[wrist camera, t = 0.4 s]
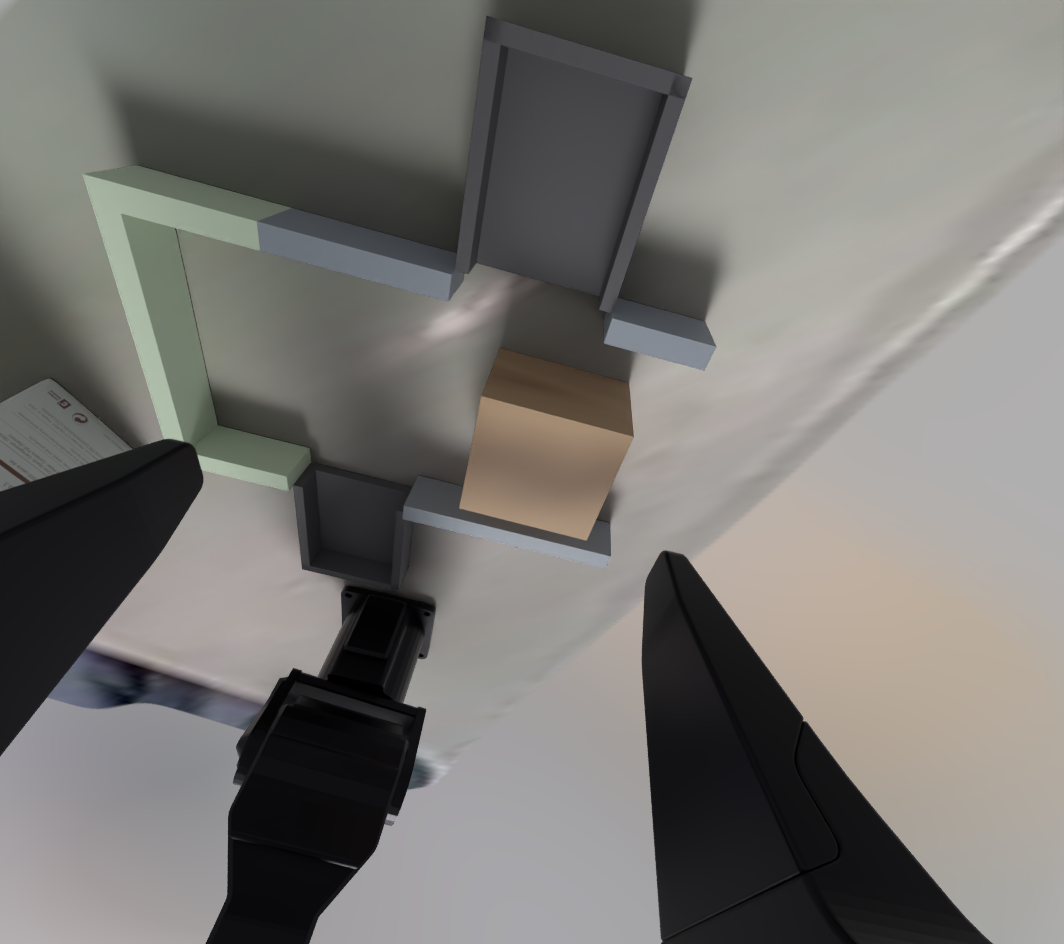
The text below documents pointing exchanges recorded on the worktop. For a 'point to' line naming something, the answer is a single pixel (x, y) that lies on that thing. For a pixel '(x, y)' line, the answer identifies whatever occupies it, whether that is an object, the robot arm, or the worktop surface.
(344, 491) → the box
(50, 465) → the supplement box
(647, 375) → the worktop surface
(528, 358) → the walnut block
